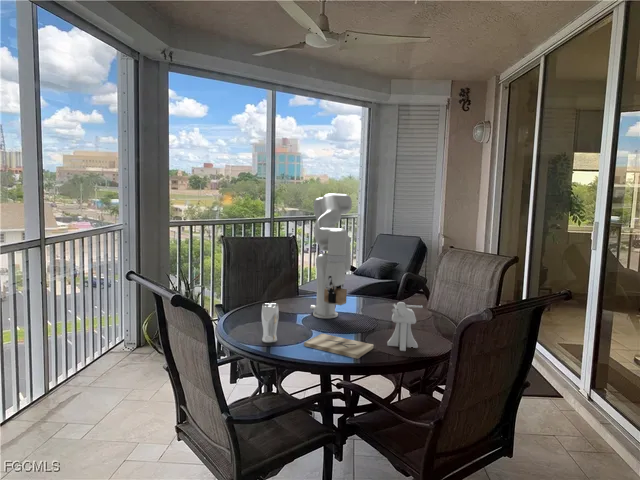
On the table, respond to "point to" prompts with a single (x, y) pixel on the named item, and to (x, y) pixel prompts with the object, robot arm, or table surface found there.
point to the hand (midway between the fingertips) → (335, 301)
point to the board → (339, 345)
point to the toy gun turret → (403, 326)
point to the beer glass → (269, 322)
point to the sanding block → (340, 296)
